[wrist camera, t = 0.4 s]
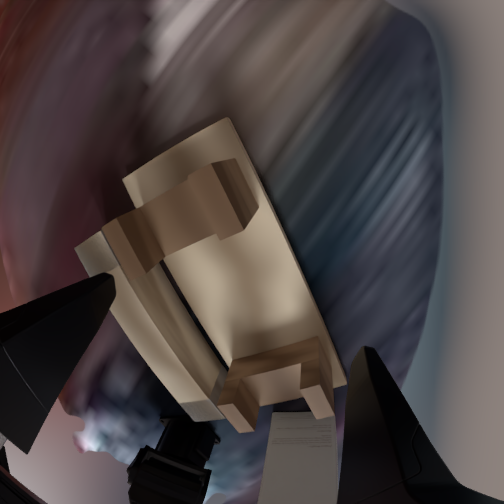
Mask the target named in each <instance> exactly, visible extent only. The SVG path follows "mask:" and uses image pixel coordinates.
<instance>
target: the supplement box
mask: <svg viewBox="0 0 504 504" xmlns="http://www.w3.org/2000/svg"><path fill="white" fill-rule="evenodd" d="M337 497H338V463H337V438H336V423H335V415H334V416H330V417H326V418H322V419H316V418H315V416H314V414H313V412H273V413H272V419H271V426H270V433H269V439H268V445H267V452H266V458H265V464H264V470H263V476H262V481H261V487H260V492H259V498H258V503H257V504H337Z"/></svg>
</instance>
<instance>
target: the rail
mask: <svg viewBox="0 0 504 504" xmlns="http://www.w3.org/2000/svg"><path fill="white" fill-rule="evenodd" d="M74 249H75V251H76V252H77V254H78V256H79V258H80V260H81V262H82V264H83V266H84V267H85V269H86V271H87V273H88V275H89V276H90V277H92V276H95V275H97V274H100V273H103V272H106V273H109V274H112V275H113V276H114V278H115V285H116V297H115V300H114V302H113V303H112V305H111V307H110V310H111V312H112V314H113V315H114V317H115V318H116V320H117V321H118V323H119V324H120V326H121V327H122V329H123V330H124V332H125V333H126V335H127V336H128V338H129V339H130V341H131V342H132V343H133V345H134V346H135V348H136V349H137V350H138V352H139V353H140V355H141V356H142V357H143V359H144V360H145V361H146V363H147V364H148V365H149V367H150V368H151V369H152V371H153V372H154V373H155V374H156V376H157V377H158V378H159V380H160V381H161V382H162V383H163V385H164V386H165V387H166V388H167V390H168V391H169V392H170V393H171V394H172V396H173V397H174V398H175V399H176V400H177V402H178V403H179V404H180V406H181V407H182V408H183V409H184V410H185V411H186V412H187V414H188V415H189V416H190V417H191V418H192V419H193V420H194V421H195V422H200V421H210V420H219V419H225V418H226V417H225V416H224V414H223V413H222V412H221V411H220V409H219V408H218V407H217V403H218V400H219V398H220V395H221V392H222V389H223V386H224V383H225V380H226V377H227V374H228V372H227V371H226V369H225V368H224V366H223V365H222V364H221V363H220V361H219V360H218V358H217V357H216V355H215V354H214V352H213V351H212V349H211V348H210V346H209V344H208V343H207V341H206V340H205V338H204V337H203V335H202V334H201V332H200V330H199V329H198V327H197V326H196V324H195V323H194V321H193V319H192V318H191V316H190V315H189V313H188V311H187V310H186V308H185V306H184V305H183V303H182V301H181V300H180V298H179V296H178V295H177V293H176V291H175V290H174V288H173V286H172V284H171V283H170V281H169V279H168V278H167V276H166V274H165V272H164V271H163V269H162V267H161V265H160V263H158V264H157V265H155V266H154V267H153V268H152V269H151V270H150V271H149V272H148V273H147V274H145V275H142V276H140V277H138V278H136V279H134V280H131V281H130V279H129V278H128V276H127V274H126V273H125V271H124V269H123V267H122V265H121V264H120V262H119V260H118V258H117V256H116V255H115V253H114V251H113V249H112V247H111V245H110V243H109V242H108V240H107V238H106V236H105V234H104V232H103V230H101V231H99V232H98V233H96V234H95V235H93V236H92V237H90V238H89V239H87V240H86V241H84V242H83V243H81V244H80V245H79V246H77V247H76V248H74Z"/></svg>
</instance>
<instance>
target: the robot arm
mask: <svg viewBox="0 0 504 504" xmlns="http://www.w3.org/2000/svg"><path fill="white" fill-rule="evenodd" d="M115 297H116V285H115V278H114V276H113V275H112V274H109V273H106V272H103V273H100V274H97V275H95V276H92V277H90V278H87V279H84V280H82V281H79V282H77V283H74V284H72V285H69V286H67V287H64V288H62V289H59V290H57V291H54V292H52V293H50V294H47V295H45V296H42V297H40V298H37V299H35V300H33V301H30V302H28V303H27V304H23V305H21V306H18V307H16V308H13V309H11V310H9V311H6V312H3V313H0V504H47V503H46V502H45V501H43V500H42V499H41V498H39V497H38V496H37V495H35V494H34V493H33V492H31V491H30V490H29V489H28V488H26V487H25V486H24V485H23V484H21V483H20V482H19V481H18V480H17V479H15V478H14V477H13V476H12V475H11V474H10V471H9V466H8V462H7V457H6V452H5V447H4V446H3V445H4V443H5V442H6V440H7V439H8V440H9V441H11V442H12V443H13V444H14V445H15V446H17V447H18V448H19V449H20V450H22V451H23V452H24V453H25V454H28V452H29V451H30V449H31V446H32V445H33V443H34V441H35V439H36V437H37V435H38V433H39V431H40V429H41V427H42V425H43V423H44V421H45V419H46V417H47V416H48V413H49V412H50V410H51V408H52V406H53V404H54V402H55V401H56V399H57V397H58V396H59V394H60V392H61V390H62V389H63V387H64V385H65V383H66V382H67V380H68V378H69V377H70V375H71V373H72V372H73V370H74V368H75V367H76V365H77V363H78V362H79V360H80V358H81V357H82V355H83V354H84V352H85V350H86V349H87V347H88V346H89V344H90V343H91V341H92V339H93V338H94V336H95V335H96V333H97V332H98V330H99V328H100V326H101V325H102V323H103V321H104V319H105V317H106V315H107V313H108V311H109V309H110V307H111V305H112V303H113V302H114V300H115ZM159 421H160V422H161V423H162V424H163V425H164V426H165V429H164V431H163V433H162V435H161V437H160V439H159V442H158V444H157V446H156V448H155V449H153V448H151V447H150V446H148V445H146V446H145V448H140V450H139V452H138V454H137V456H136V458H135V459H134V460H133V462H132V463H131V464H130V465H129V467H128V468H127V473H128V475H129V476H128V484H130V485H131V487H130V489H129V491H128V495H129V502H130V504H203V501H204V499H205V496H206V492H207V488H208V484H209V480H210V475H211V471H212V470H209V469H204V466H205V463H206V461H208V460H209V458H210V455H211V452H212V449H213V446H214V445H215V444H220V439H219V438H218V437H217V436H216V435H215V434H214V433H213V432H212V431H211V430H210V429H209V428H208V427H207V425H206V424H205V423H204V422H203V421H200V422H195V421H194V420H193V419H192V418H191V417H190V416H189V415H183V416H170V417H160V419H159ZM337 504H504V501H501V500H498V499H495V498H492V497H490V496H487V495H484V494H482V493H479V492H477V491H474V490H472V489H469V488H467V487H465V486H463V485H462V484H460V483H459V482H458V481H457V480H456V479H455V477H454V476H453V475H452V473H451V472H450V470H449V469H448V467H447V466H446V465H445V463H444V461H443V460H442V459H441V457H440V456H439V454H438V453H437V451H436V450H435V448H434V447H433V445H432V444H431V442H430V440H429V439H428V437H427V435H426V434H425V432H424V430H423V428H422V427H421V425H420V424H419V421H418V420H417V418H416V416H415V415H414V413H413V411H412V409H411V408H410V406H409V404H408V402H407V401H406V399H405V397H404V396H403V394H402V392H401V391H400V389H399V387H398V386H397V384H396V382H395V381H394V379H393V377H392V376H391V374H390V372H389V371H388V369H387V368H386V366H385V364H384V363H383V361H382V360H381V358H380V356H379V355H378V353H377V352H376V350H375V349H374V348H373V347H368V346H363V347H361V349H360V350H359V352H358V353H357V355H356V357H355V358H354V360H353V362H352V365H351V371H350V378H349V385H348V392H347V398H346V407H345V424H344V439H343V452H342V463H341V472H340V481H339V489H338V497H337Z"/></svg>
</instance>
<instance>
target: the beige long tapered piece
mask: <svg viewBox="0 0 504 504" xmlns="http://www.w3.org/2000/svg"><path fill="white" fill-rule="evenodd" d="M122 180H123V182H124V184H125V186H126V189H127V191H128V193H129V195H130V197H131V199H132V201H133V203H134V205H135V207H136V209H134V210H132V211H130V212H128V213H126V214H123V215H121V216H119V217H117V218H115V219H114V220H112V221H111V222H109V223H108V224H106V225H104V226H103V227H101V228H102V230H103V232H104V234H105V236H106V238H107V240H108V242H109V243H110V245H111V247H112V249H113V251H114V253H115V255H116V256H117V258H118V260H119V262H120V264H121V265H122V267H123V269H124V271H125V273H126V274H127V276H128V278H129V279H130V281H131V280H134V279H136V278H138V277H140V276H142V275H145V274H147V273H148V272H149V271H150V270H151V269H152V268H153V267H154V266H155V265H157V264H158V263H159V262H160V261H161V260H162V259H163V260H164V262H165V263H166V265H167V267H168V269H169V271H170V272H171V274H172V276H173V278H174V279H175V281H176V283H177V285H178V286H179V288H180V290H181V291H182V293H183V295H184V296H185V298H186V300H187V302H188V303H189V305H190V307H191V308H192V310H193V311H194V313H195V315H196V316H197V318H198V320H199V321H200V323H201V324H202V326H203V328H204V329H205V331H206V332H207V334H208V336H209V337H210V339H211V340H212V342H213V343H214V345H215V347H216V348H217V350H218V351H219V353H220V354H221V356H222V357H223V359H224V360H225V362H226V363H227V365H228V366H229V371H228V374H227V377H226V380H225V383H224V386H223V389H222V392H221V395H220V398H219V400H218V403H217V407H218V408H219V409H220V411H221V412H222V413H223V414H224V416H225V417H226V418H227V419H228V420H229V421H230V423H231V424H232V425H233V426H234V427H235V429H236V430H237V431H238V432H239V433H243V432H251V431H255V427H256V422H257V417H258V412H259V407H260V406H264V405H269V404H274V403H279V402H284V401H288V400H293V399H297V398H301V397H304V398H305V400H306V402H307V404H308V405H309V407H310V409H311V411H312V412H313V414H314V416H315V418H316V419H322V418H326V417H330V416H334V415H335V412H334V394H333V388H336V387H340V386H343V385H346V384H347V379H346V375H345V373H344V370H343V368H342V365H341V363H340V360H339V358H338V355H337V353H336V350H335V348H334V346H333V343H332V341H331V338H330V336H329V333H328V331H327V329H326V326H325V324H324V321H323V319H322V317H321V314H320V312H319V310H318V307H317V305H316V303H315V300H314V298H313V296H312V293H311V291H310V289H309V286H308V284H307V282H306V279H305V277H304V275H303V273H302V270H301V268H300V266H299V263H298V261H297V259H296V257H295V254H294V252H293V250H292V248H291V246H290V243H289V241H288V239H287V237H286V235H285V232H284V230H283V228H282V226H281V224H280V221H279V219H278V217H277V215H276V213H275V211H274V209H273V206H272V204H271V202H270V200H269V198H268V196H267V194H266V192H265V189H264V187H263V185H262V183H261V181H260V179H259V177H258V175H257V173H256V171H255V169H254V166H253V164H252V162H251V160H250V158H249V156H248V154H247V152H246V150H245V148H244V146H243V144H242V142H241V140H240V138H239V136H238V134H237V132H236V130H235V128H234V126H233V124H232V122H231V120H230V118H227V117H226V118H224V119H222V120H220V121H218V122H216V123H214V124H212V125H210V126H209V127H207V128H205V129H203V130H201V131H199V132H198V133H196V134H194V135H192V136H191V137H189V138H187V139H185V140H184V141H182V142H180V143H179V144H177V145H175V146H173V147H172V148H170V149H169V150H167V151H165V152H164V153H162V154H160V155H159V156H157V157H156V158H154V159H152V160H151V161H149V162H148V163H146V164H145V165H143V166H142V167H140V168H139V169H137V170H136V171H134V172H133V173H131V174H130V175H128V176H127V177H125V178H124V179H122Z"/></svg>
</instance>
